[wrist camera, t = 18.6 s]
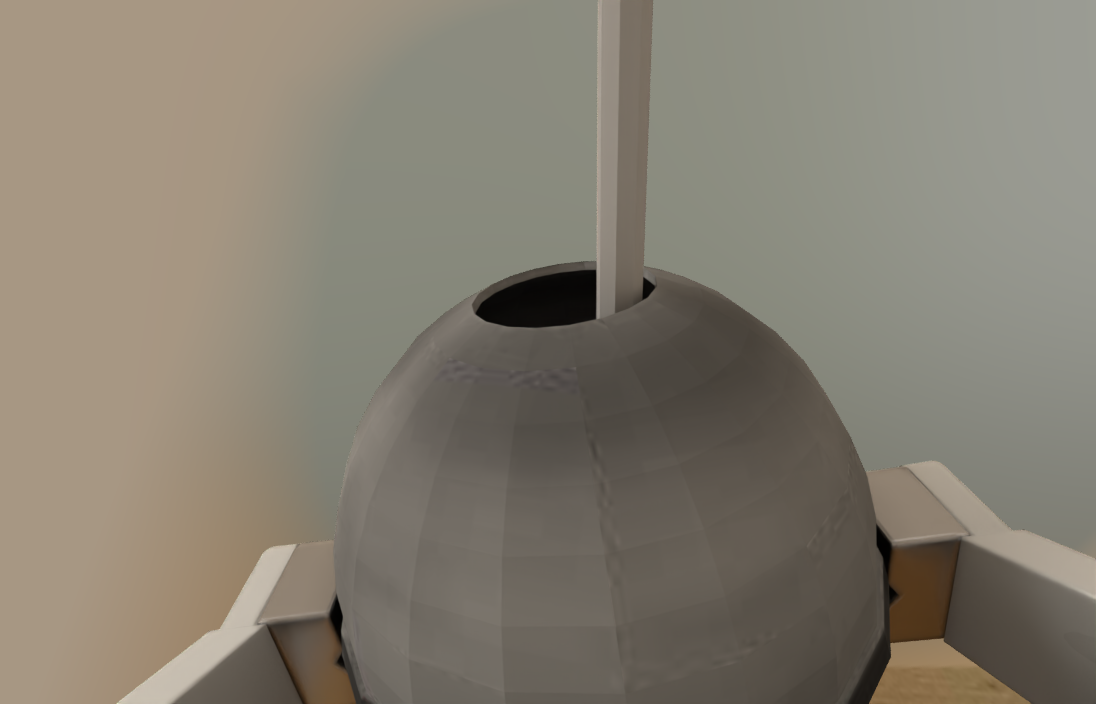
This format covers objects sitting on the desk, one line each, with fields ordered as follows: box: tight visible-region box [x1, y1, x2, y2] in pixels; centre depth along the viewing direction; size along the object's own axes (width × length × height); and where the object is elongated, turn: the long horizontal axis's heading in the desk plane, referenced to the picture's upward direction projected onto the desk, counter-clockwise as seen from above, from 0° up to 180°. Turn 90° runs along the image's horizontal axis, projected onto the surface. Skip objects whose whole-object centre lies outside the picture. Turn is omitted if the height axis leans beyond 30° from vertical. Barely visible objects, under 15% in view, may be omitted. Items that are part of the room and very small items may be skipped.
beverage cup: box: [333, 0, 891, 704], centre depth 9 cm, size 7×7×20 cm
